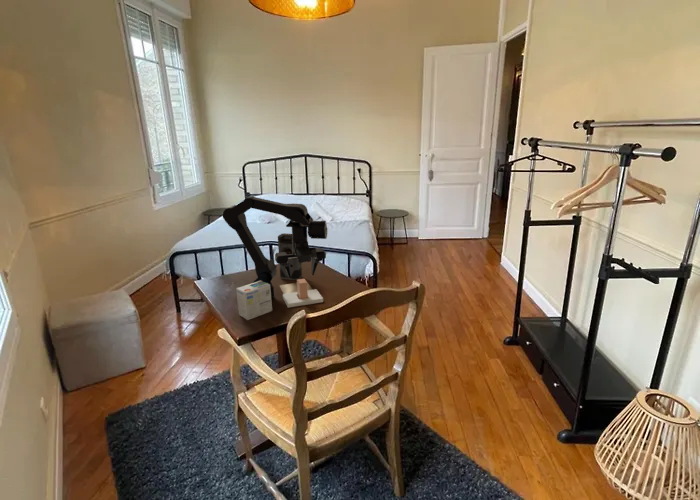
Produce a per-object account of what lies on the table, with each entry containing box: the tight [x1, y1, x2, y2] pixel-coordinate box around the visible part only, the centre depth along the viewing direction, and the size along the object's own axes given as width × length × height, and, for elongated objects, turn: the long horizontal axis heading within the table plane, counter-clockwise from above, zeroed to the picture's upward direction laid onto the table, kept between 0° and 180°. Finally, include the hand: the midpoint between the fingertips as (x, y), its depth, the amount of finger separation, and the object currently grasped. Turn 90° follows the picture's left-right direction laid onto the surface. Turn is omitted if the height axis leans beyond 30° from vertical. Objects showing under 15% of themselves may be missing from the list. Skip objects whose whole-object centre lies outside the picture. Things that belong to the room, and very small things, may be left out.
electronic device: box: [277, 233, 303, 281], centre depth 173 cm, size 9×6×20 cm, turn 73°
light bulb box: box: [235, 280, 273, 321], centre depth 140 cm, size 11×7×11 cm, turn 136°
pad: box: [279, 282, 314, 295], centre depth 163 cm, size 12×10×1 cm
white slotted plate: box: [282, 288, 324, 308], centre depth 152 cm, size 14×10×2 cm
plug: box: [296, 278, 308, 300], centre depth 151 cm, size 3×4×8 cm
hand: (301, 276), depth 149 cm, fingers open, 9 cm apart
